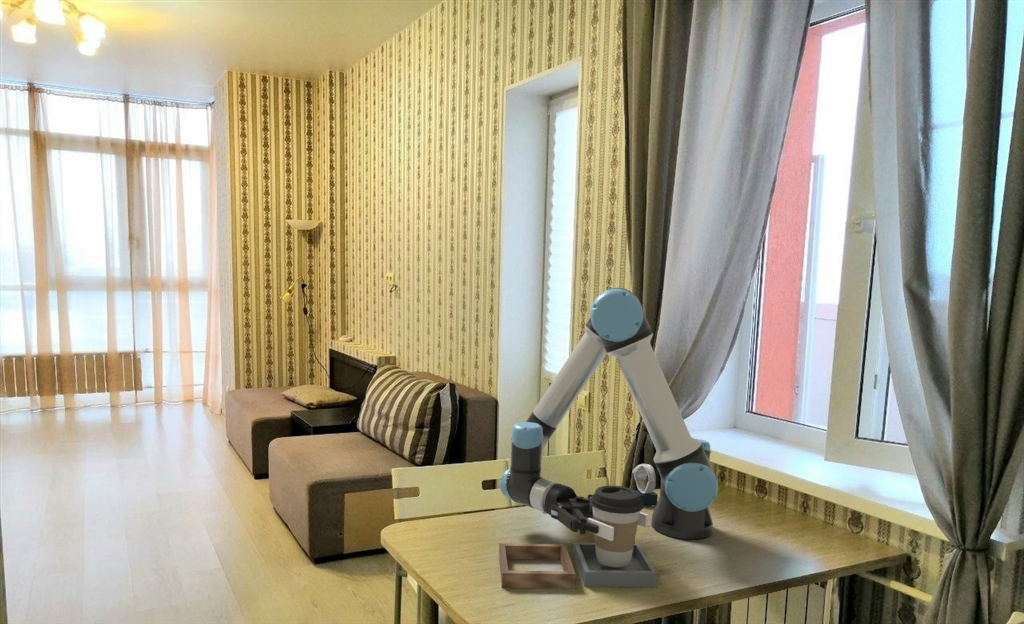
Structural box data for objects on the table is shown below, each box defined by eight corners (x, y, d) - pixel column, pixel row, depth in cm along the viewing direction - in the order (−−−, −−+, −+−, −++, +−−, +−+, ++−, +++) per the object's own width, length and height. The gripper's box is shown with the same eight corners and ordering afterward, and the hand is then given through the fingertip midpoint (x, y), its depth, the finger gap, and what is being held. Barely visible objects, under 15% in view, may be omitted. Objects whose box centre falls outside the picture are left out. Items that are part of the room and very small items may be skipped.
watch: (646, 498, 196) (648, 460, 195) (660, 507, 188) (662, 468, 188) (628, 499, 194) (630, 461, 194) (641, 509, 187) (643, 469, 186)
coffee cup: (615, 546, 155) (619, 481, 154) (651, 565, 145) (655, 496, 144) (576, 555, 149) (579, 488, 148) (610, 576, 139) (614, 504, 138)
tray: (638, 556, 155) (639, 543, 155) (656, 587, 140) (657, 573, 140) (573, 555, 154) (573, 542, 154) (584, 586, 139) (585, 572, 139)
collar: (564, 557, 153) (565, 544, 153) (574, 588, 138) (575, 574, 138) (498, 556, 152) (499, 543, 152) (501, 587, 137) (502, 573, 137)
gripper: (586, 504, 168) (661, 531, 152) (517, 526, 152) (593, 559, 136) (587, 474, 167) (663, 498, 152) (518, 493, 151) (595, 522, 135)
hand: (630, 527), depth 144 cm, fingers closed on coffee cup, 11 cm apart
